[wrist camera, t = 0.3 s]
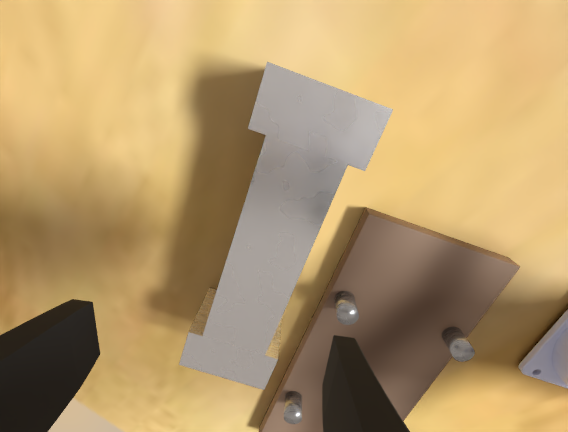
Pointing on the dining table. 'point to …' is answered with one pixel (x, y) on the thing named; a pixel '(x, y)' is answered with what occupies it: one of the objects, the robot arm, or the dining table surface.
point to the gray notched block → (280, 219)
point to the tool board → (392, 315)
